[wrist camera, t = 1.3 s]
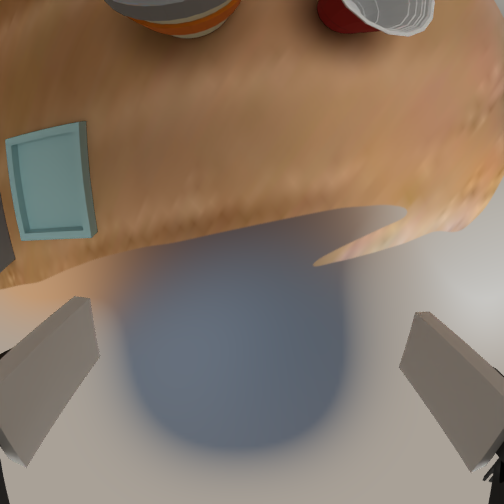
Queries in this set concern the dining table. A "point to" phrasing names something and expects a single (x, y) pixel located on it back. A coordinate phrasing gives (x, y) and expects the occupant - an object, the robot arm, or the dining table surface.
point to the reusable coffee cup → (177, 15)
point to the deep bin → (4, 242)
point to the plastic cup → (376, 15)
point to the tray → (52, 183)
